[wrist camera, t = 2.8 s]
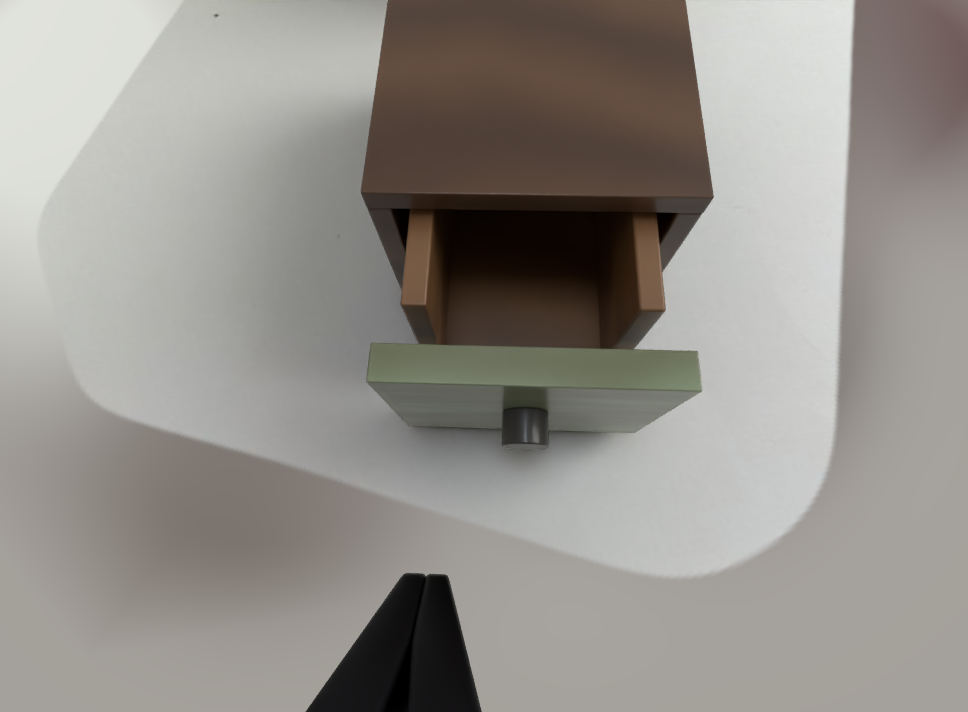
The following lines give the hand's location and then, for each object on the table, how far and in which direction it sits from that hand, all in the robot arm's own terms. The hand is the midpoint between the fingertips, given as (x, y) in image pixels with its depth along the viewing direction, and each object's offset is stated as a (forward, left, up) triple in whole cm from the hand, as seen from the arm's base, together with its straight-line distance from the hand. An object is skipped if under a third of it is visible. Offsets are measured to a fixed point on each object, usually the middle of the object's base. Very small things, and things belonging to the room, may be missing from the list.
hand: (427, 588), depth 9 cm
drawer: (+7, +8, -10) cm, 14 cm away
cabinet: (+10, +14, -11) cm, 20 cm away
